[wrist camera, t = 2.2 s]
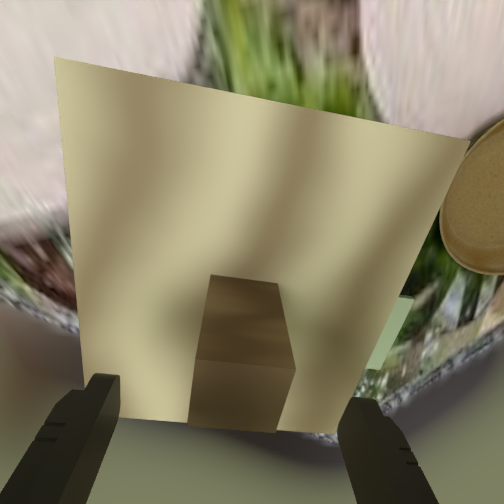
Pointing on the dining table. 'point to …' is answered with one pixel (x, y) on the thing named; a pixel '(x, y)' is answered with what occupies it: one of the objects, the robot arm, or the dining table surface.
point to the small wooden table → (237, 245)
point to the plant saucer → (477, 207)
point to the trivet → (390, 331)
